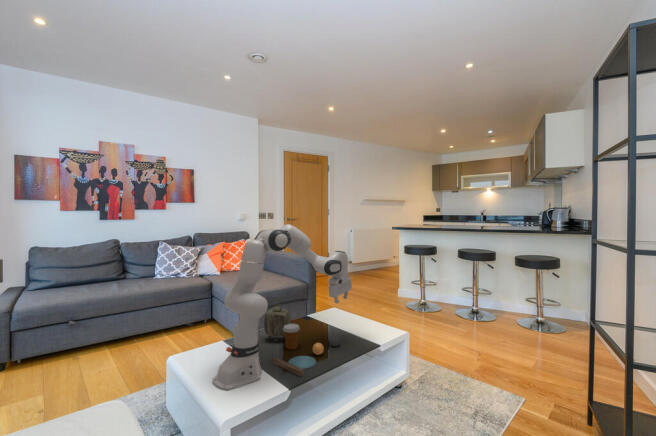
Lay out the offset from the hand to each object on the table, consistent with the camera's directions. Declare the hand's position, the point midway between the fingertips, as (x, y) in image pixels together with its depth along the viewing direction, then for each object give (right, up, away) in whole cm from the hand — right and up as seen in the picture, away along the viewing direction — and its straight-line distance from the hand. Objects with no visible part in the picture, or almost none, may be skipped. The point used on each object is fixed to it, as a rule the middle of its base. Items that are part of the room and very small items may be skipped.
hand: (341, 300), depth 186 cm
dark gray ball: (-4, -21, -7) cm, 22 cm away
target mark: (-21, -24, -27) cm, 42 cm away
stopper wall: (-27, -24, -34) cm, 50 cm away
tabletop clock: (-38, -25, +2) cm, 46 cm away
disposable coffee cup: (-29, -25, -8) cm, 38 cm away
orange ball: (-13, -21, -18) cm, 31 cm away
